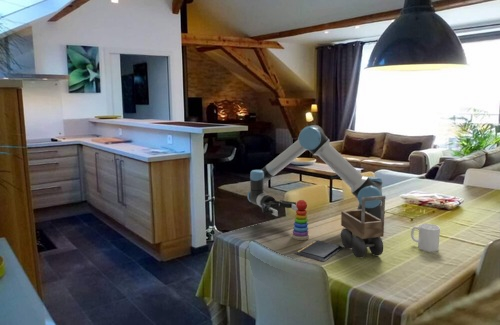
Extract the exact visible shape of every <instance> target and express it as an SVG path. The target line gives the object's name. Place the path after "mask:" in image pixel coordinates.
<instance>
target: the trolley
mask: <svg viewBox="0 0 500 325" xmlns="http://www.w3.org/2000/svg"><path fill="white" fill-rule="evenodd" d="M386 199H387V197H386V195H382V196H373V197H362V199H361V200H362V209H361V210H357V209H354V210H353V209H352V210H342V211H341V216H340V217H341V218H340V219H341V220H340V226H341V227H344V228H342V229H341V233H340V241H341V244H342V247H344V248H343V249H345V250H352V251H353V255H354V256H355V257H356V258H358V259H359V258H360V259H361V258H364V257H366V254H367V253H366V252H367V248H369V251H370V252H371V254H372V255H374V256H381V255H382V254H383V251H384V241H383V240H382V237H384V236H385V235H384V233H385V232H384V231H385V214H386V213H385V210H386ZM373 200H381V219H379V218H377V217H375V216H373V215H371V214H369V213H367V212H365V201H373Z"/></svg>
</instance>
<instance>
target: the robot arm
mask: <svg viewBox="0 0 500 325" xmlns="http://www.w3.org/2000/svg"><path fill="white" fill-rule="evenodd" d="M306 151H309V152H310V153H311V154H312V156H318V157H319V158H320V159H321V160H322V162H324V163H325V164H326V165H327V166H328V167H329V169H330V170H332V171H333V172H334V173H335V175H337V176H338V177H339V178H340V179H341V180H342V181H343V182H344V183H345V184H346V185H347V186H348V187H349V188H350V192H351V194H352V195H353V196H354V197H355V198H356V199H357V201H358V206H357V208H356V210H361V209H362V200H361V199H362V197H373V196H383V193H382V192H383V191H382V190H383V179H382V177H377V176H376V177H375V176H363V175H362V173H361V172H360V171H358V170H357V169H356V168H355V167H354V165H352V164H351V163H350V162H349V161H348V160H346V158H345V157H344V156H343V155H342V154H341V153H340V152H339V151H338V150H336V148H335V147H334V146H333V145H331V143H330V138H328V136H327V135H326V134H325V131H324V130H323V128H322V127H321V126H319V125H316V124H310V125H307V126H305V127H304V128H303V129H301V131H300V132H299V134H298V137H297V140H295V141H294V143H292V144H291V145H289V147H287V148H286V149H285V150H284V151H282V152H281V153H280V154H279V155H277V156H276V157H275V158H273V160H271V161H270V162H269V163H267V164H266V165H265V166H264V167H263V168H261V169H252V170H251V171H250V174H249V175H250V176H249V180H250V183H249V184H250V187H249V188H250V190H249V191H248V193H247V195H246V196H247V200H248V201H249V202H250V203H251V204H253V205H256V206H259V208H260V209H261V211H262V213H263V214H266V215H270V214H271V215H273V216H275V217H279V214H278V213H279V211H278V210H277V209H281V208H287V209H291V210H293V211H295V212H296V210H298V209H297V207H296V204H297V202H295V201H288V200H283V199H279V200H276V199H275V197H273V196H272V195H269V194H267V193H264V192H265V190H264V188H265V183H267V182H269V180H270V179H272V178H273V177H274V176H276V175H277V174H278V173H280V172H281V171H282V170H284V168H286V167H287V166H288V165H289V164H291V163H292V162H294V161H295V160H296V159H297V158H298V157H300V156H301V155H302V154H303V153H304V152H306ZM365 212H367V213H369V214H371V215H373V216H375V217H377V218H379V219H381V200H373V201H365Z"/></svg>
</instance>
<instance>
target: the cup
mask: <svg viewBox="0 0 500 325" xmlns="http://www.w3.org/2000/svg"><path fill="white" fill-rule="evenodd" d="M415 230H418V238H415V236H414V233H415ZM440 233H441V227H440V226H439V225H437V224H432V223H421V224H419V225H418V226H413V227H412V228H411V231H410V236H411V239H412V241H413V242H415V243H417V246H418V248H419V250H421V251H423V252H428V253H435V252H438V251H439V247H440Z"/></svg>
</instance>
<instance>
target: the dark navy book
mask: <svg viewBox="0 0 500 325" xmlns="http://www.w3.org/2000/svg"><path fill="white" fill-rule="evenodd" d="M343 249H345V248H344V246H343V245H340V244H335V243H330V242H325V241H322V240H314V241H312V242H311V243H308V244H307V245H306V246H304V247H303V248H301V249H299V250H297V251H296V252H294V253H293V254H294V255H296V256H297V255H298V256H300V257H303V258H307V259H310V260H314V261H316V262H317V261H318V262H323V263H324V262H327V261H328V260H329V259H330V258H332V257H334V256H335V255H336V254H338V253H339V252H341V251H342V250H343Z"/></svg>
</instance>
